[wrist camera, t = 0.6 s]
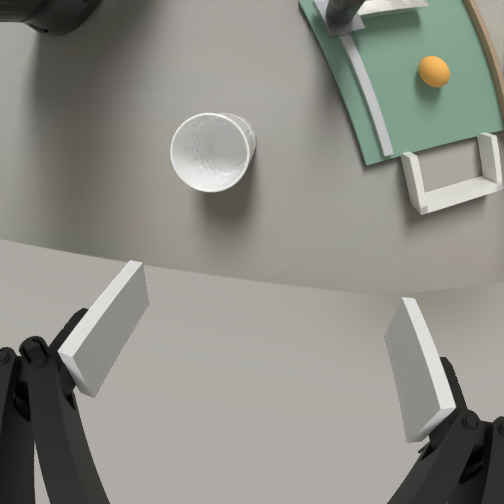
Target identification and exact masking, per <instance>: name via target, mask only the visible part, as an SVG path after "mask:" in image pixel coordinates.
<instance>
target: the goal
mask: <svg viewBox="0 0 504 504" xmlns="http://www.w3.org/2000/svg"><path fill="white" fill-rule="evenodd" d="M477 141H478V146H479V152H480V159H481V166H482V174H483V176H480V177H477V178H473V179H470V180H467V181H463V182H460V183H456V184H453V185H450V186H446V187H443V188H440V189H436V190H433V191H430V192H426V193H425V192H424V187H423V181H422V176H421V172H420V167H419V163H418V158H417V156H416V155H414V154H413V153H411V152H405V153H402V156H400V157H401V161H402V165H403V170H404V174H405V178H406V183H407V187H408V192H409V197H410V202H411V205H412V206H413V207H414V208H415V209H416V210H417V211H418V212H419V213H420V214H421V215H423V214H427V213H430V212H433V211H436V210H439V209H443V208H446V207H449V206H452V205H455V204H458V203H461V202H465V201H468V200H471V199H474V198H477V197H480V196H483V195H486V194H489V193H493V192H496V191H499V190H502V189H503V188H502V175H501V166H500V157H499V150H498V143H497V137H496V135H493V134H489V133H486V132H485V133H480V136H477Z"/></svg>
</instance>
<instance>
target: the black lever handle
mask: <svg viewBox="0 0 504 504" xmlns="http://www.w3.org/2000/svg"><path fill="white" fill-rule="evenodd" d="M312 5H313V7H314V9H315V10H316V12H317V14H318V16H319V18H320V20H321V22H322V24H323V26H324V28H325V30H326V32H327V34H328V36H329V38H330V39H333V38H337V37H341V36H345V35H350V34H354V33H358V32H362V31H363V30H364V29H365V26H364V24H363V22H362V20H361V19H365V18H370V17H376V16H382V15H389V14H396V13H404V12H413V11H422V10H424V9H425V8H427V7H429V5H428V3H427V1H426V0H371V1H366V0H313V2H312Z"/></svg>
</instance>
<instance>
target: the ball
mask: <svg viewBox="0 0 504 504" xmlns="http://www.w3.org/2000/svg"><path fill="white" fill-rule="evenodd" d="M418 69H419V74H420V76H421V78H422V80H423V81H424V82H425V83H426V84H428V85H430V86H432V87H442V86H444V85H446V84H447V83H448V81H449V79H450V71H449V68H448V66H447V64H446V63H445V62H444V61H443V60H442V59H440V58H438V57H436V56H427V57H425V58H423V59H422V60H421V61H420V63H419V68H418Z"/></svg>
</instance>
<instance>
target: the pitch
mask: <svg viewBox="0 0 504 504" xmlns="http://www.w3.org/2000/svg"><path fill="white" fill-rule="evenodd" d="M366 1H371V0H366ZM426 1H427V3H428V5H429V7H427V8H425V9H424V10H422V11H413V12H404V13H396V14H389V15H382V16H376V17H370V18H365V19H361V20H362V22H363V24H364V26H365V29H364V30H363V31H362V32H358V33H354V34H350V35H345V36H341V37H337V38H333V39H330V38H329V36H328V34H327V32H326V30H325V28H324V26H323V24H322V22H321V20H320V18H319V16H318V14H317V12H316V10H315V9H314V7H313V5H312V2H313V0H299V5H300V6H301V8H302V10H303V12H304V14H305V16H306V18H307V20H308V22H309V24H310V26H311V28H312V30H313V32H314V34H315V36H316V38H317V40H318V42H319V44H320V46H321V48H322V51H323V53H324V55H325V57H326V59H327V62H328V64H329V66H330V69H331V71H332V73H333V76H334V78H335V81H336V83H337V85H338V88H339V91H340V93H341V96H342V98H343V101H344V103H345V106H346V109H347V112H348V114H349V117H350V120H351V123H352V126H353V128H354V131H355V134H356V137H357V140H358V143H359V147H360V150H361V153H362V156H363V159H364V163H365V164H366V165H371V164H374V163H377V162H381V161H384V160H388V159H391V158H395V157H398V156H402V153H405V152H411V153H413V152H416V151H420V150H424V149H428V148H431V147H435V146H439V145H443V144H447V143H451V142H455V141H459V140H463V139H467V138H471V137H475V136H480V133H485V132H486V133H493V132H497V131H502V130H504V78H503V74H502V71H501V67H500V64H499V61H498V58H497V55H496V52H495V49H494V46H493V43H492V41H491V38H490V35H489V33H488V30H487V28H486V25H485V23H484V20H483V18H482V16H481V14H480V11H479V9H478V7H477V5H476V3H475V1H474V0H426ZM427 56H436V57H438V58H440V59H442V60H443V61H444V62H445V63H446V64H447V66H448V68H449V71H450V79H449V81H448V83H447V84H446V85H444V86H442V87H432V86H430V85H428V84H426V83H425V82H424V81H423V80H422V78H421V76H420V74H419V69H418V68H419V63H420V61H421V60H422V59H423V58H425V57H427Z"/></svg>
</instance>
